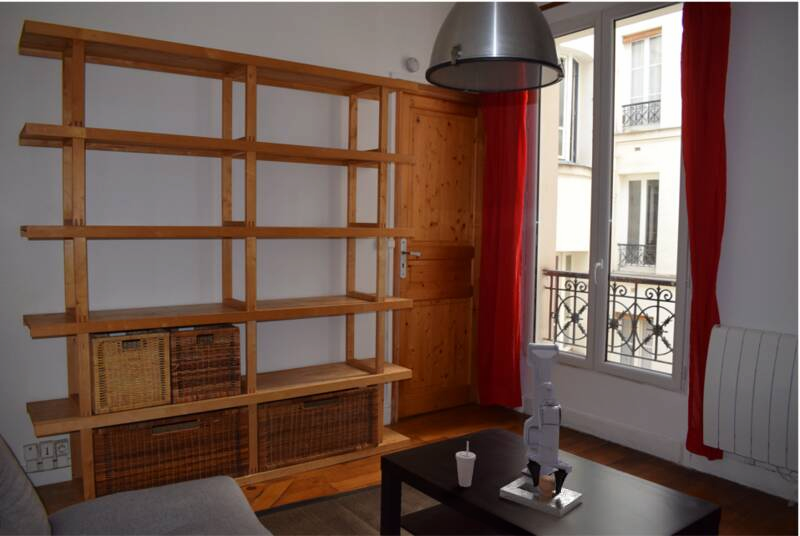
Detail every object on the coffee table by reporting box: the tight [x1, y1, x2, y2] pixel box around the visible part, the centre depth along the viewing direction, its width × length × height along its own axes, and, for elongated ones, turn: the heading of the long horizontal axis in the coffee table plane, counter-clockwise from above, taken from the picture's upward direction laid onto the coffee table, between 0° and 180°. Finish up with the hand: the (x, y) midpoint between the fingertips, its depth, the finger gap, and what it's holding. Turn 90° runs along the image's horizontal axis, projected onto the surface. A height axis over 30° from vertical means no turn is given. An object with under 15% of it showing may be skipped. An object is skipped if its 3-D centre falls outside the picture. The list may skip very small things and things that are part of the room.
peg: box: [539, 475, 556, 498], centre depth 191 cm, size 5×5×7 cm
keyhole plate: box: [499, 475, 583, 518], centre depth 193 cm, size 14×20×2 cm
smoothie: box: [455, 440, 477, 488], centre depth 202 cm, size 6×6×14 cm
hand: (547, 489), depth 191 cm, fingers open, 7 cm apart
